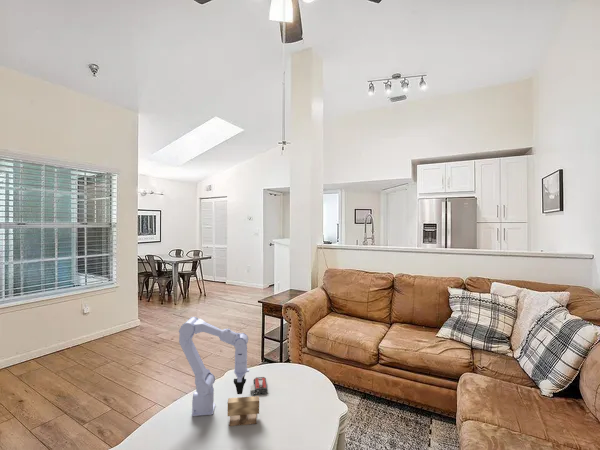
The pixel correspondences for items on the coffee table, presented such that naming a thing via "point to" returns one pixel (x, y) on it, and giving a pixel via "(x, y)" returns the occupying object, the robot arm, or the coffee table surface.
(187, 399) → the coffee table surface
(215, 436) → the coffee table surface
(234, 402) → the oak bar
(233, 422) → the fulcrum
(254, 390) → the walkie-talkie
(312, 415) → the coffee table surface
